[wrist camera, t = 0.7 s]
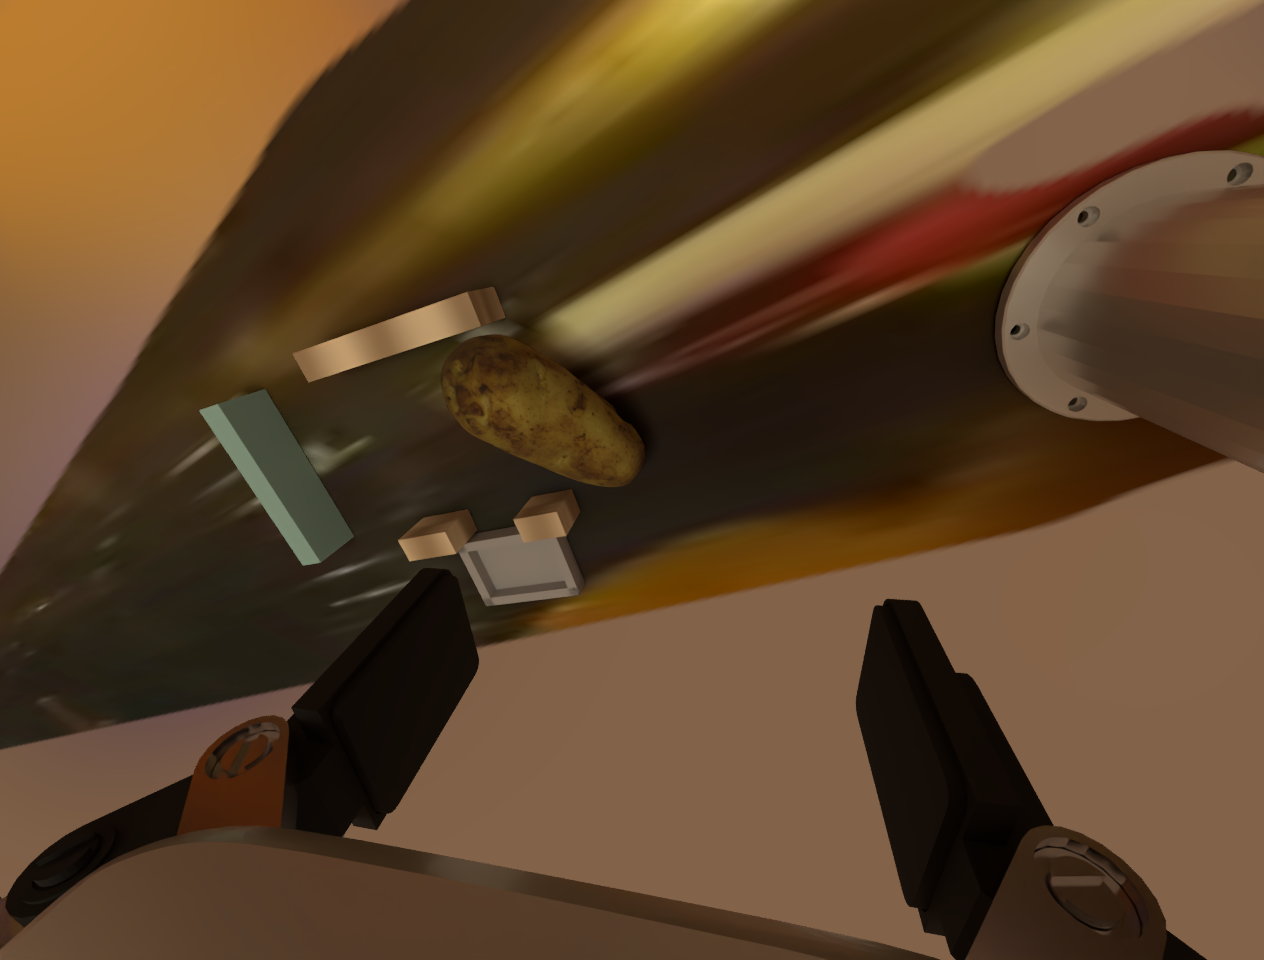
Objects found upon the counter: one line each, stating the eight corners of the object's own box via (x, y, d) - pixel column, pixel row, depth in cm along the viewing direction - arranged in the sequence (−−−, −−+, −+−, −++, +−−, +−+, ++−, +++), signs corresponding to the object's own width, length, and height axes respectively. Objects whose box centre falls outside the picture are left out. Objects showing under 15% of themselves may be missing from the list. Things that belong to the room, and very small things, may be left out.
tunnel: (493, 286, 31) (467, 292, 28) (580, 511, 38) (566, 535, 35) (331, 343, 36) (292, 353, 33) (433, 537, 42) (409, 561, 39)
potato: (573, 498, 38) (534, 559, 30) (467, 354, 34) (396, 384, 27) (664, 451, 34) (644, 506, 27) (558, 285, 31) (504, 299, 24)
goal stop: (265, 388, 39) (217, 404, 35) (354, 536, 44) (320, 562, 40) (247, 394, 39) (199, 410, 36) (337, 539, 44) (303, 565, 41)
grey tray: (558, 518, 39) (552, 528, 37) (585, 583, 41) (579, 594, 40) (464, 535, 41) (455, 545, 40) (494, 594, 44) (486, 606, 42)
